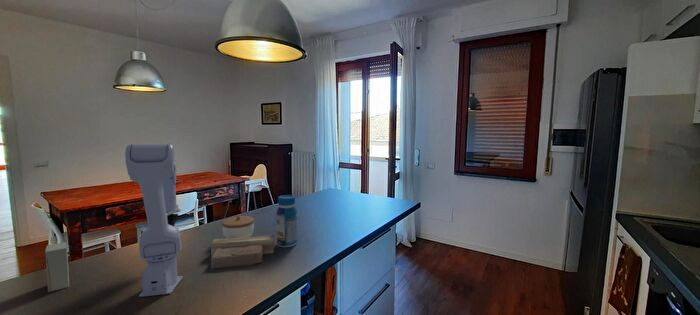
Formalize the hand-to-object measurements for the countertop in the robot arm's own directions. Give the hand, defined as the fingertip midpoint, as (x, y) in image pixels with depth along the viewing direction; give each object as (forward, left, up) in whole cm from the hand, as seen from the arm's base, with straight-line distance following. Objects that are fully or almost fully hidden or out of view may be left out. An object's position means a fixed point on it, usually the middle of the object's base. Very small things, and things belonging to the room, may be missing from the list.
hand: (168, 236), depth 96 cm
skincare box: (-9, +26, -10) cm, 29 cm away
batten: (+4, -24, -10) cm, 26 cm away
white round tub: (+17, -20, -10) cm, 28 cm away
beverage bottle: (+10, -40, -10) cm, 42 cm away
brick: (-2, -23, -10) cm, 25 cm away
